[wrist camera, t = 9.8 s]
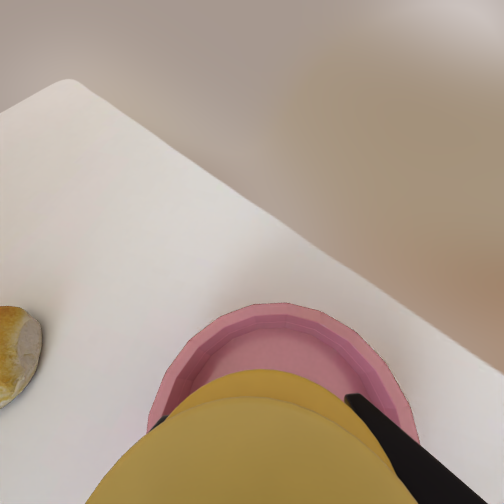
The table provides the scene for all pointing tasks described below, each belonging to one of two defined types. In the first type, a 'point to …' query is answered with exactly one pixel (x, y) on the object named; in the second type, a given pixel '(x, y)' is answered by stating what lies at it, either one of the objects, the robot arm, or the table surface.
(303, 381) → the yellow stepped cylinder
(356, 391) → the bowl
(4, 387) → the bread roll
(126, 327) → the table surface
